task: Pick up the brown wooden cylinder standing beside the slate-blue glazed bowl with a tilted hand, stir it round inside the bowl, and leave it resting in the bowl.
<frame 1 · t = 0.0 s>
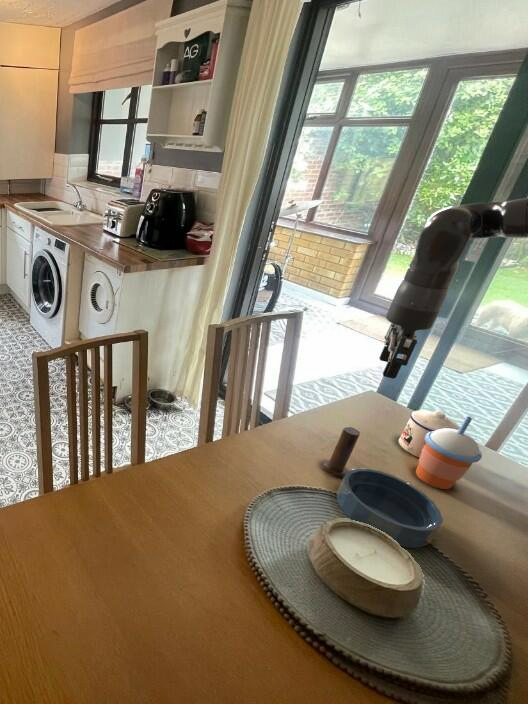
hand: (386, 368, 93), 25 cm above the table, tool pointing down, fingers open, 8 cm apart
bowl: (380, 515, 87), on the table
cup with straw: (432, 479, 96), on the table
brown wooden cylinder: (334, 470, 98), on the table
teacup with lid: (420, 453, 104), on the table
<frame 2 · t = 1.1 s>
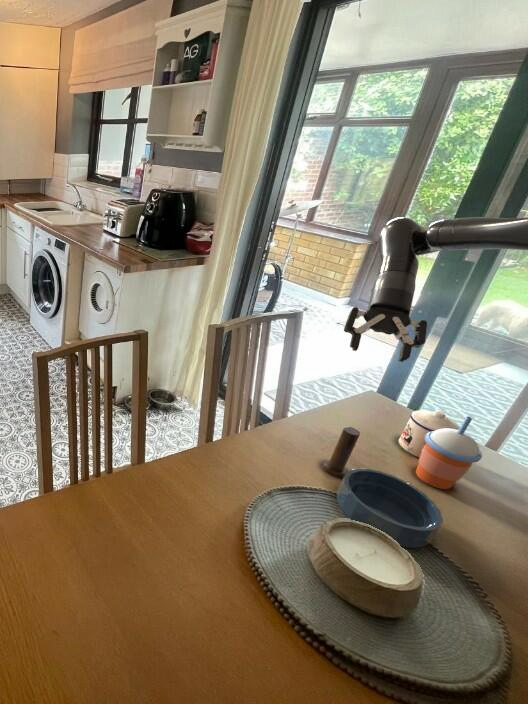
hand: (377, 355, 95), 27 cm above the table, tool tilted 45°, fingers open, 8 cm apart
nothing on the table moved.
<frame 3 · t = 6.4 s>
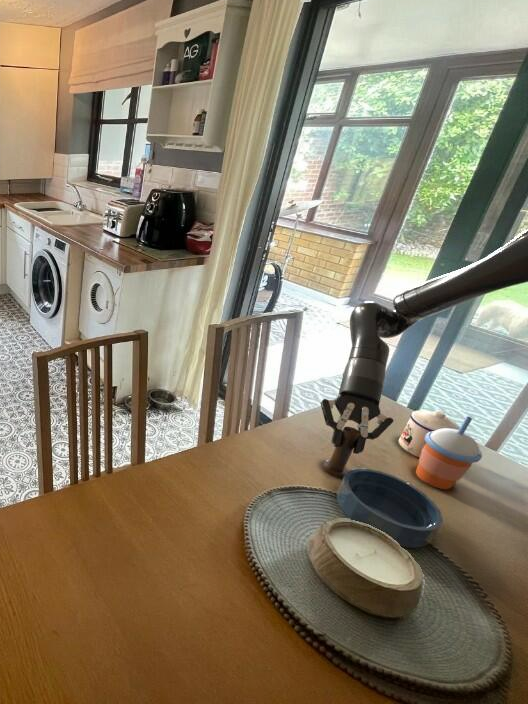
hand: (346, 449, 93), 8 cm above the table, tool tilted 45°, fingers closed on brown wooden cylinder, 3 cm apart
brown wooden cylinder: (334, 470, 98), on the table, touching gripper
everything else where it was.
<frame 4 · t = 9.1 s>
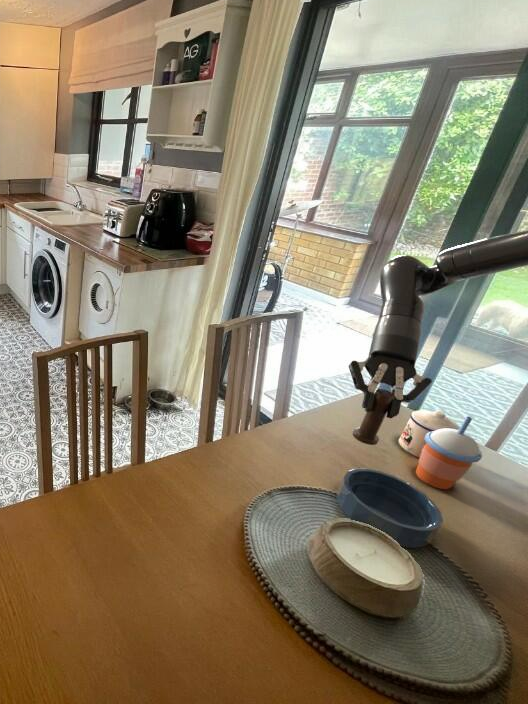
hand: (379, 413, 85), 20 cm above the table, tool tilted 45°, fingers closed on brown wooden cylinder, 3 cm apart
brown wooden cylinder: (364, 438, 90), point 13 cm above the table, touching gripper
everything else where it was.
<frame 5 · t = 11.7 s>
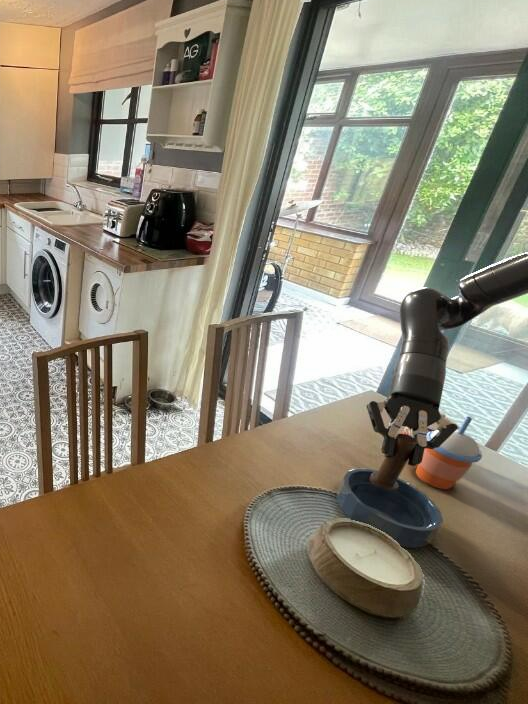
hand: (400, 460, 80), 16 cm above the table, tool tilted 45°, fingers closed on brown wooden cylinder, 3 cm apart
brown wooden cylinder: (382, 483, 84), point 8 cm above the table, touching gripper
everything else where it was.
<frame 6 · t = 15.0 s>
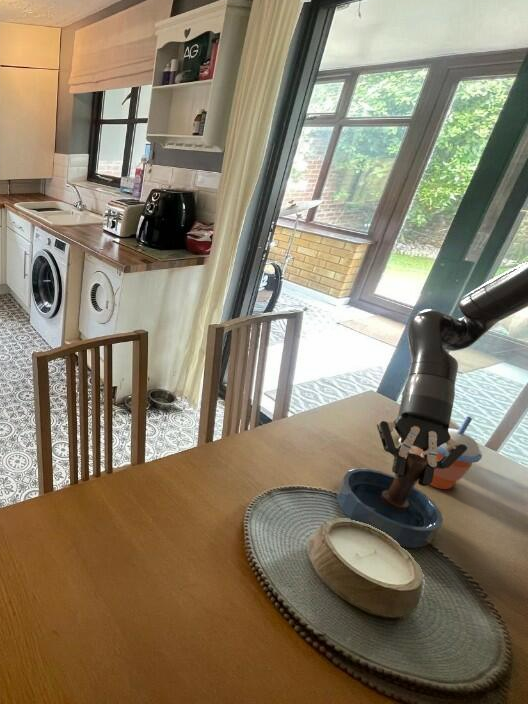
hand: (410, 480, 81), 11 cm above the table, tool tilted 45°, fingers closed on brown wooden cylinder, 3 cm apart
brown wooden cylinder: (393, 501, 86), point 3 cm above the table, touching gripper
everything else where it was.
when the fingers open (9 cm above the table, at t = 17.1 s): brown wooden cylinder stays where it is, resting on bowl.
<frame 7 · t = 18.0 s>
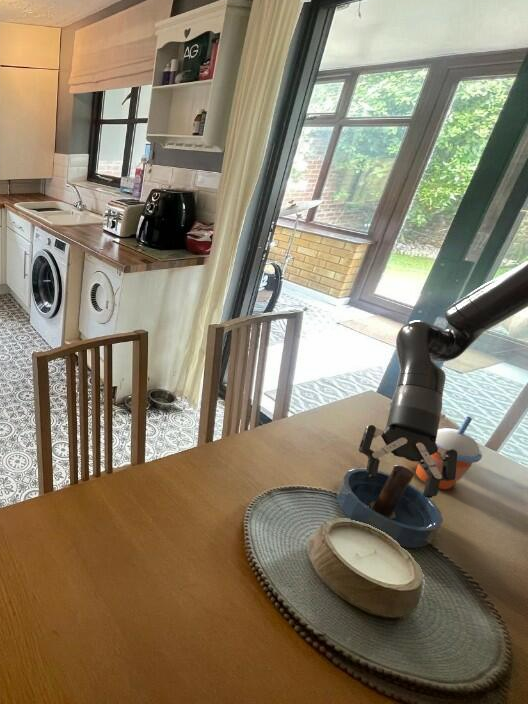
hand: (399, 487, 82), 9 cm above the table, tool tilted 45°, fingers open, 8 cm apart
brown wooden cylinder: (380, 513, 87), point 1 cm above the table, touching bowl
everything else where it was.
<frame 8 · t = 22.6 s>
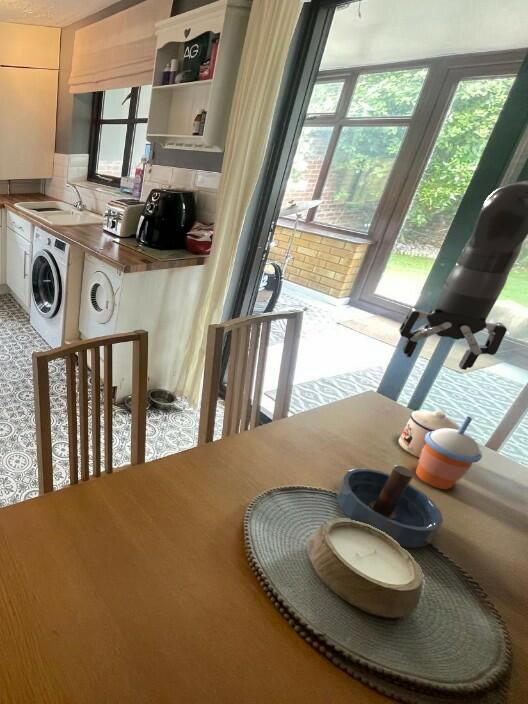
hand: (434, 361, 86), 30 cm above the table, tool pointing down, fingers open, 8 cm apart
nothing on the table moved.
at the end: brown wooden cylinder inside the target area in the bowl (0.1 cm from its centre), point 0.6 cm above the bowl's base; the gripper is holding nothing; brown wooden cylinder moved 12.7 cm from its start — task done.
